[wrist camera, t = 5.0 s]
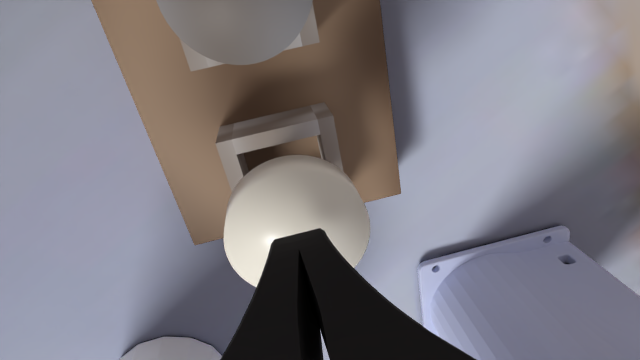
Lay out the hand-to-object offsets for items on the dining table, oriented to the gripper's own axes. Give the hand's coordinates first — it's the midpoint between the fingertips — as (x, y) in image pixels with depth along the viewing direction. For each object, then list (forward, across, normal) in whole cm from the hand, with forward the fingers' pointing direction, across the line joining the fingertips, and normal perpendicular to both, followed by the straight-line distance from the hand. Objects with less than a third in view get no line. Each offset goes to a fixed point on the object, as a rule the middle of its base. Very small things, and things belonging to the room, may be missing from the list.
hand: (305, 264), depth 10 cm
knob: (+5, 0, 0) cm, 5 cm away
